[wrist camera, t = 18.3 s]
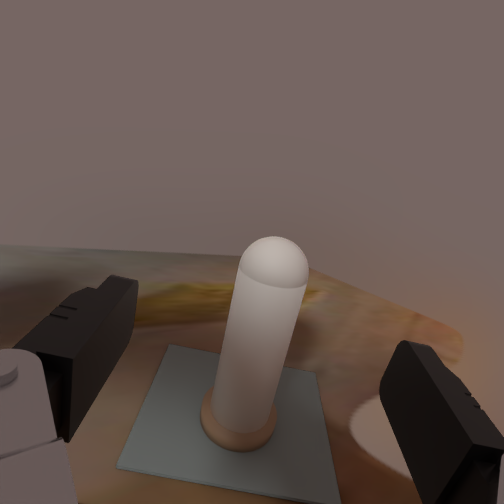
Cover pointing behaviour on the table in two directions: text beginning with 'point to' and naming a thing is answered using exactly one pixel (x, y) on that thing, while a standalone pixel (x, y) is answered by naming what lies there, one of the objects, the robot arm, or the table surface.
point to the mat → (224, 461)
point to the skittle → (255, 345)
